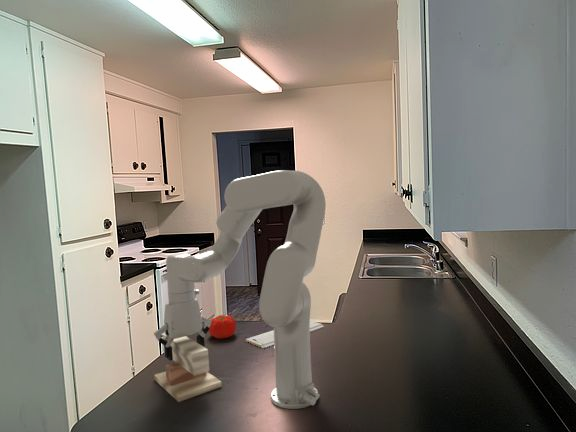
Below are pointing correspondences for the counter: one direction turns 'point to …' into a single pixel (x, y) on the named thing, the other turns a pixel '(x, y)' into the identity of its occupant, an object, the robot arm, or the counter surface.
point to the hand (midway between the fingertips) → (185, 354)
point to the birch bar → (189, 355)
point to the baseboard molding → (268, 337)
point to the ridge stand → (185, 382)
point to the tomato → (222, 327)
